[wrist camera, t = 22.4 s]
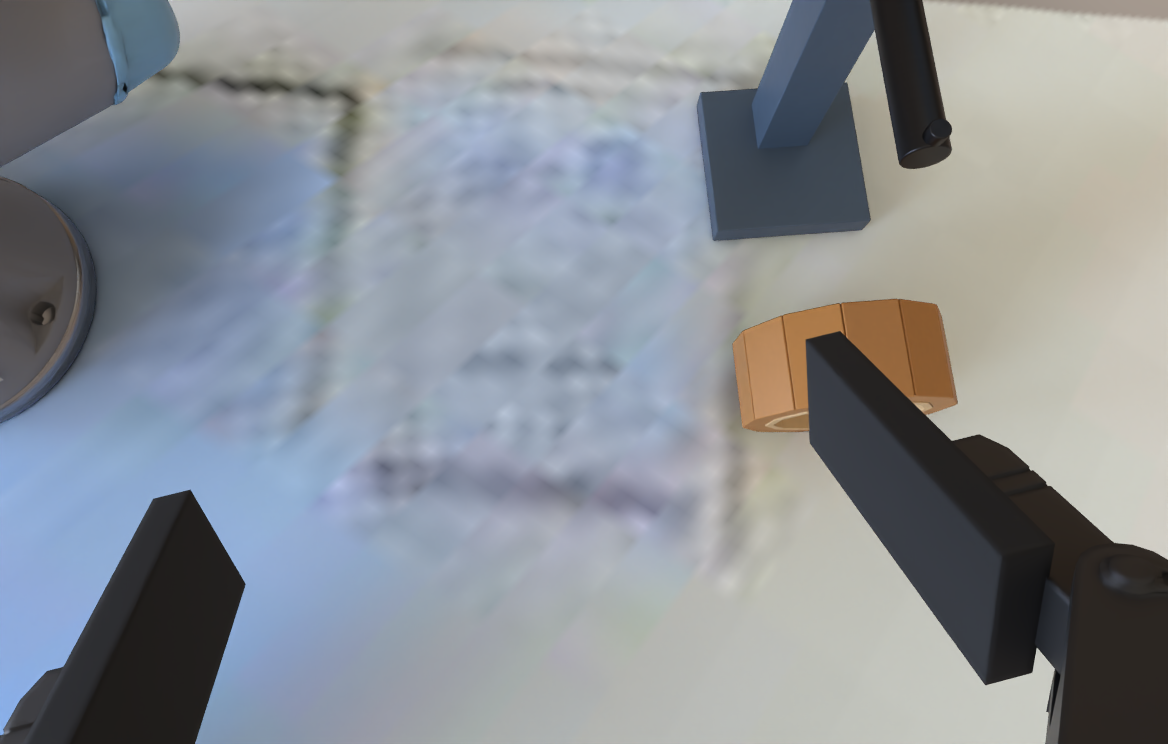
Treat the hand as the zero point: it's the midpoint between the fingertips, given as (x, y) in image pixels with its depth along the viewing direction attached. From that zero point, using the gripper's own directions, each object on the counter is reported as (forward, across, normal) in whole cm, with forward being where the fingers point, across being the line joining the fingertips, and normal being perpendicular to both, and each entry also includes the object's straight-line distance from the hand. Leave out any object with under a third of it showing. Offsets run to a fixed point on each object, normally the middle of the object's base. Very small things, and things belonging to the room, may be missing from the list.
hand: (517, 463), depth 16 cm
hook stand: (+30, +17, -7) cm, 35 cm away
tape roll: (+18, +15, -12) cm, 27 cm away
